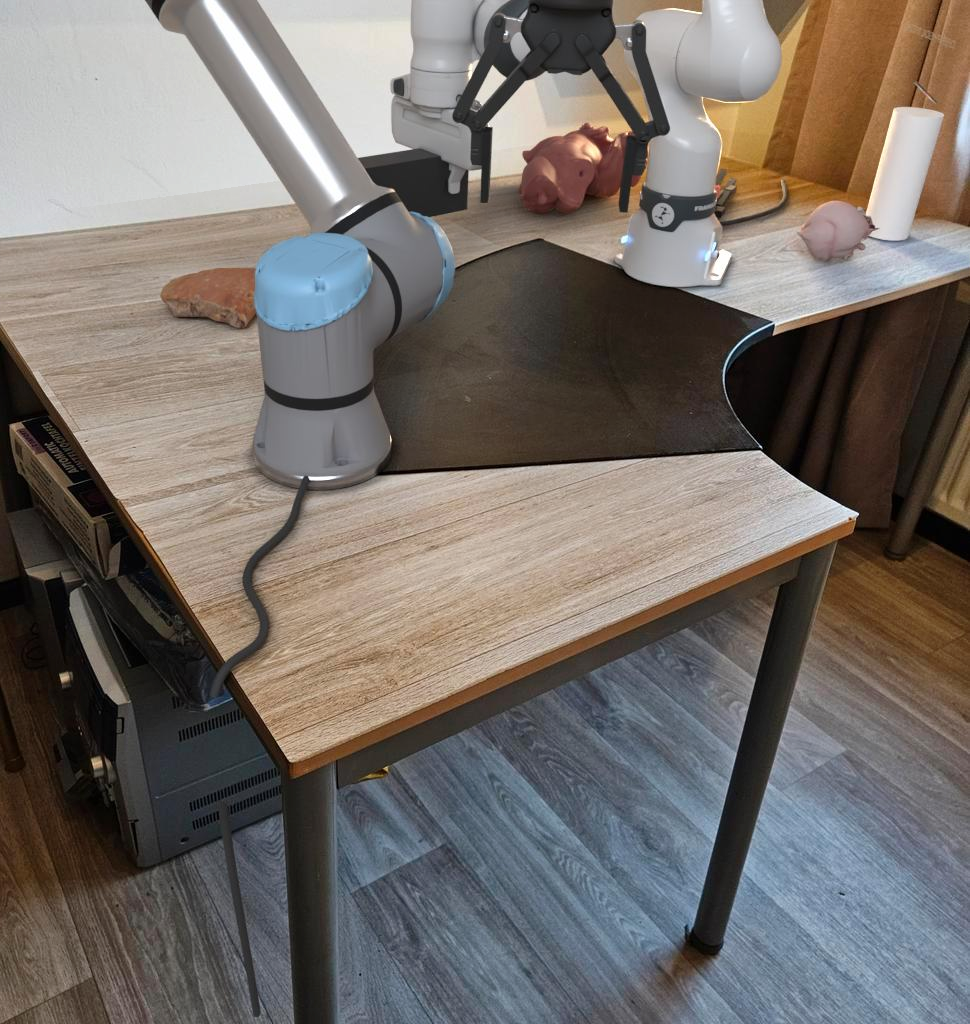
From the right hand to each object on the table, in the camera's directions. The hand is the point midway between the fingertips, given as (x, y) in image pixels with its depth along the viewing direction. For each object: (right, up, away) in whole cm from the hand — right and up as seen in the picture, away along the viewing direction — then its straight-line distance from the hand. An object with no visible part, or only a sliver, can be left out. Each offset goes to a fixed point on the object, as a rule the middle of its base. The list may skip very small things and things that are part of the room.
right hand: (438, 186), depth 146 cm
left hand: (+14, -19, -52) cm, 57 cm away
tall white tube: (+83, +4, +38) cm, 92 cm away
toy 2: (+69, -4, +26) cm, 73 cm away
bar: (-6, -6, -3) cm, 9 cm away
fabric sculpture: (+25, +12, +45) cm, 53 cm away
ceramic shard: (-32, -19, -5) cm, 38 cm away
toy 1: (+53, +13, +49) cm, 73 cm away
